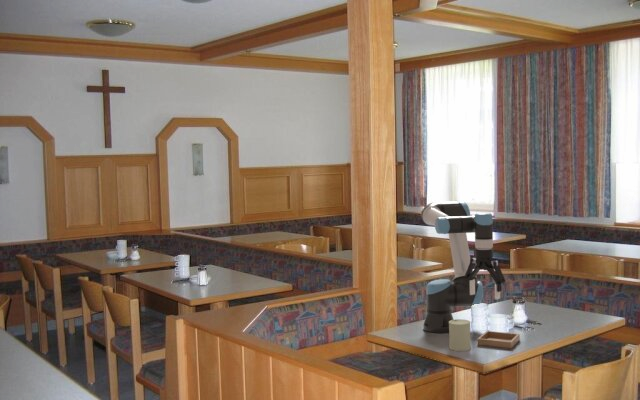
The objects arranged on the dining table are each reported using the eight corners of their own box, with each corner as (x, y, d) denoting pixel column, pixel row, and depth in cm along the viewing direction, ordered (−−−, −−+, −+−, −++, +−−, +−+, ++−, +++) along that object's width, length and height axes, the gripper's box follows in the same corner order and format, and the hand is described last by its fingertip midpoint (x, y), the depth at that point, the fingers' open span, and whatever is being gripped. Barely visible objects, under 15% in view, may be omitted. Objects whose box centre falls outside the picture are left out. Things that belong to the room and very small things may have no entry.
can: (461, 344, 307) (460, 317, 306) (475, 348, 299) (474, 321, 298) (444, 347, 303) (444, 320, 302) (458, 352, 295) (457, 324, 294)
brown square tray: (477, 345, 304) (477, 338, 304) (487, 337, 316) (487, 330, 316) (511, 349, 297) (511, 342, 296) (519, 340, 309) (519, 334, 309)
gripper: (513, 250, 296) (514, 299, 297) (467, 245, 315) (468, 291, 317) (502, 252, 291) (503, 302, 293) (456, 246, 311) (457, 294, 312)
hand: (484, 296), depth 305 cm, fingers open, 13 cm apart
